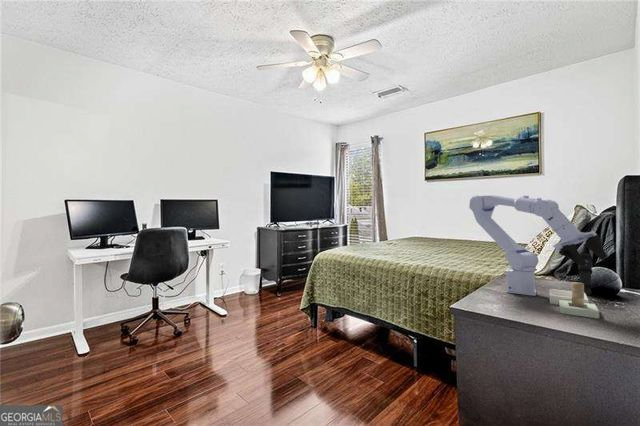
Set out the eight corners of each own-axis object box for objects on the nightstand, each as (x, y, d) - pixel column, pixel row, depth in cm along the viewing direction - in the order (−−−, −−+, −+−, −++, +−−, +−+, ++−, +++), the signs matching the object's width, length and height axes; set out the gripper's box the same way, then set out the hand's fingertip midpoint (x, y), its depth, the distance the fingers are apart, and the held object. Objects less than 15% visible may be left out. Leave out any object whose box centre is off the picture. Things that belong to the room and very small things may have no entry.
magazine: (578, 290, 115) (579, 252, 120) (580, 298, 124) (581, 263, 129) (591, 292, 113) (592, 253, 117) (592, 300, 122) (593, 263, 126)
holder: (560, 313, 96) (560, 306, 96) (559, 305, 104) (559, 299, 104) (599, 318, 91) (599, 311, 91) (594, 310, 98) (594, 304, 98)
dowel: (572, 312, 97) (571, 283, 97) (571, 309, 99) (571, 281, 99) (584, 313, 95) (584, 284, 95) (583, 311, 98) (583, 282, 98)
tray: (549, 303, 105) (549, 295, 105) (549, 296, 114) (549, 288, 114) (588, 309, 100) (588, 299, 100) (584, 301, 108) (584, 292, 108)
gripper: (551, 228, 103) (582, 263, 95) (589, 215, 105) (622, 249, 97) (540, 238, 109) (569, 272, 101) (576, 226, 110) (607, 259, 103)
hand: (594, 261), depth 100 cm, fingers open, 7 cm apart
